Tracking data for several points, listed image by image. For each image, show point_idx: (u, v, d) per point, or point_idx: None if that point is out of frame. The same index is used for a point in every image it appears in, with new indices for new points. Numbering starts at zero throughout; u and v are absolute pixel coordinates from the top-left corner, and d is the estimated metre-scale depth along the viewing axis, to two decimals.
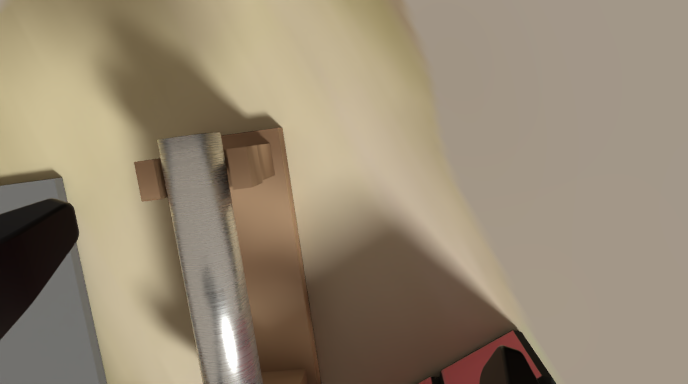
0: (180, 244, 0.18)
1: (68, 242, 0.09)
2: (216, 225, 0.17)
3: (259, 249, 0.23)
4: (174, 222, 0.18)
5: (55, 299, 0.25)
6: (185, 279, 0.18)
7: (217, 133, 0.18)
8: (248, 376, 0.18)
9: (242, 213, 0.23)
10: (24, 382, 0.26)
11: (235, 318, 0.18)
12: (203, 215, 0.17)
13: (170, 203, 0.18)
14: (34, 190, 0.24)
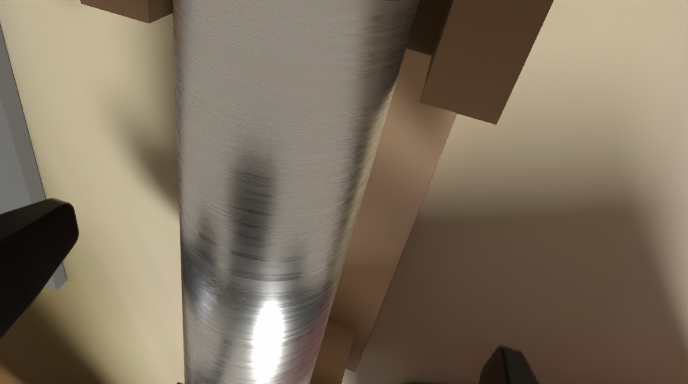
0: (188, 208, 0.05)
1: (68, 242, 0.09)
2: (320, 205, 0.05)
3: None
4: (181, 138, 0.05)
5: None
6: (185, 280, 0.06)
7: None
8: None
9: None
10: None
11: (288, 383, 0.07)
12: (289, 171, 0.04)
13: (178, 71, 0.04)
14: None
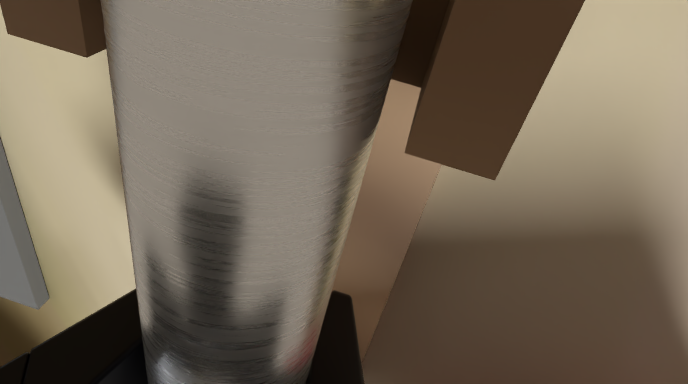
0: (139, 268, 0.05)
1: None
2: (290, 270, 0.04)
3: None
4: (126, 191, 0.04)
5: None
6: (144, 339, 0.06)
7: None
8: None
9: None
10: None
11: None
12: (248, 237, 0.04)
13: (116, 118, 0.04)
14: None
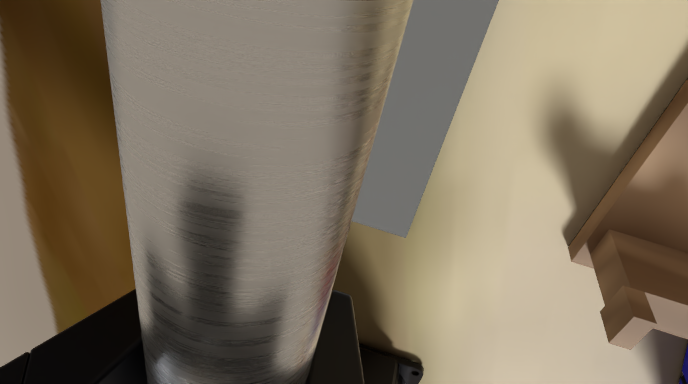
0: (138, 264, 0.05)
1: None
2: (289, 266, 0.04)
3: None
4: (125, 186, 0.04)
5: (436, 54, 0.18)
6: (143, 336, 0.06)
7: None
8: None
9: None
10: None
11: None
12: (248, 233, 0.04)
13: (115, 112, 0.04)
14: None
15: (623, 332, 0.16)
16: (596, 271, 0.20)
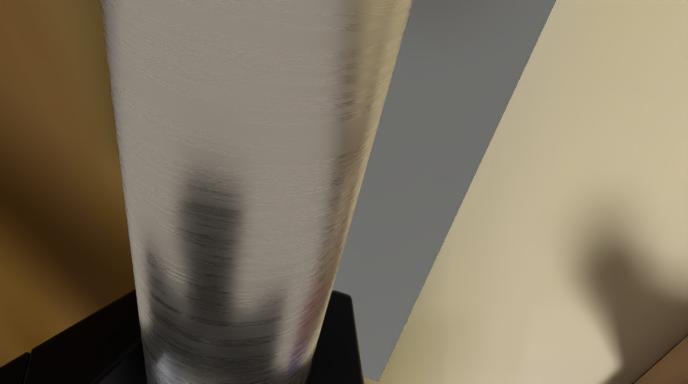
0: (138, 264, 0.05)
1: None
2: (290, 266, 0.04)
3: None
4: (125, 185, 0.04)
5: (414, 160, 0.11)
6: (143, 336, 0.06)
7: None
8: None
9: None
10: None
11: None
12: (249, 233, 0.04)
13: (115, 111, 0.04)
14: None
15: None
16: None
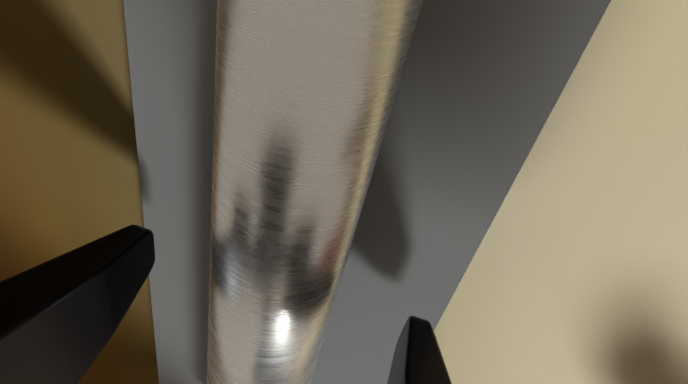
0: (224, 168, 0.06)
1: (146, 268, 0.09)
2: (342, 162, 0.06)
3: None
4: (221, 104, 0.06)
5: (398, 236, 0.09)
6: (217, 238, 0.07)
7: None
8: None
9: None
10: None
11: (306, 336, 0.08)
12: (317, 130, 0.05)
13: (222, 45, 0.05)
14: None
15: None
16: None
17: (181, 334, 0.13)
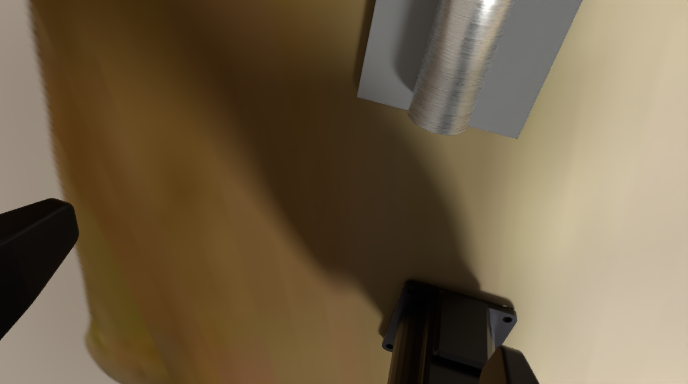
0: None
1: (68, 242, 0.09)
2: None
3: None
4: None
5: None
6: None
7: None
8: None
9: None
10: None
11: None
12: None
13: None
14: None
15: None
16: None
17: (394, 18, 0.17)
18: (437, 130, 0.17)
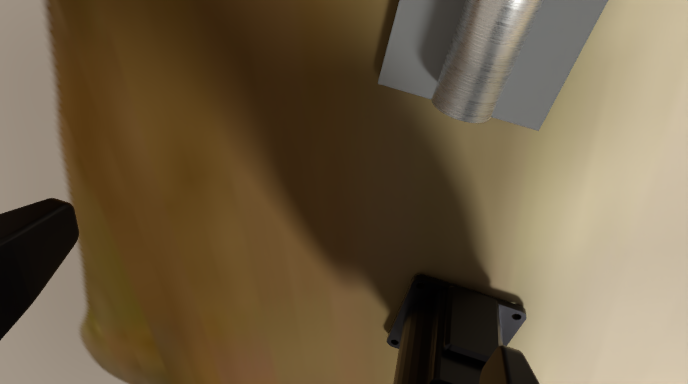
0: None
1: (68, 242, 0.09)
2: None
3: None
4: None
5: None
6: None
7: None
8: None
9: None
10: None
11: None
12: None
13: None
14: None
15: None
16: None
17: (421, 3, 0.17)
18: (463, 118, 0.17)
